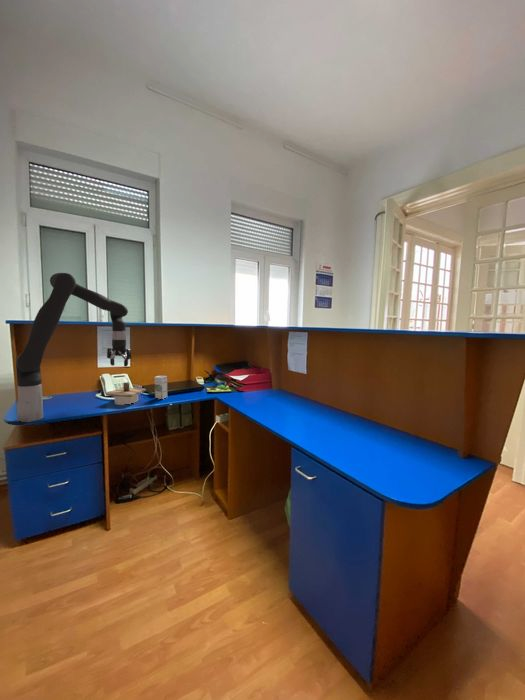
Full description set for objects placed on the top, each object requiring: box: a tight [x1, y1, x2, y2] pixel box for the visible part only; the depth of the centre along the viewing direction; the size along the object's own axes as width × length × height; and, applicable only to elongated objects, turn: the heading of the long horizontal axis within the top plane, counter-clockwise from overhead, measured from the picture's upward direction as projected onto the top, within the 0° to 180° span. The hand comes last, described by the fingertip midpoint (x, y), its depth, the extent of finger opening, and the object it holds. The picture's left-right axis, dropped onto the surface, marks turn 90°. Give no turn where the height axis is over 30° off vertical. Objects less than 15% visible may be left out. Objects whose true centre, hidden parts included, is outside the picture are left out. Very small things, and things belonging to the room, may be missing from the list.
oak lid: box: [105, 381, 147, 397], centre depth 177 cm, size 16×16×6 cm
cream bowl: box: [113, 394, 140, 406], centre depth 178 cm, size 13×13×6 cm
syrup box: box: [154, 375, 168, 400], centre depth 187 cm, size 6×6×14 cm
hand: (119, 365), depth 175 cm, fingers open, 8 cm apart
